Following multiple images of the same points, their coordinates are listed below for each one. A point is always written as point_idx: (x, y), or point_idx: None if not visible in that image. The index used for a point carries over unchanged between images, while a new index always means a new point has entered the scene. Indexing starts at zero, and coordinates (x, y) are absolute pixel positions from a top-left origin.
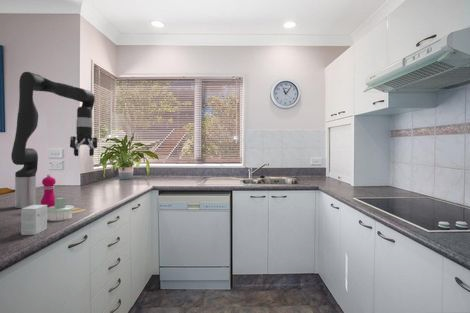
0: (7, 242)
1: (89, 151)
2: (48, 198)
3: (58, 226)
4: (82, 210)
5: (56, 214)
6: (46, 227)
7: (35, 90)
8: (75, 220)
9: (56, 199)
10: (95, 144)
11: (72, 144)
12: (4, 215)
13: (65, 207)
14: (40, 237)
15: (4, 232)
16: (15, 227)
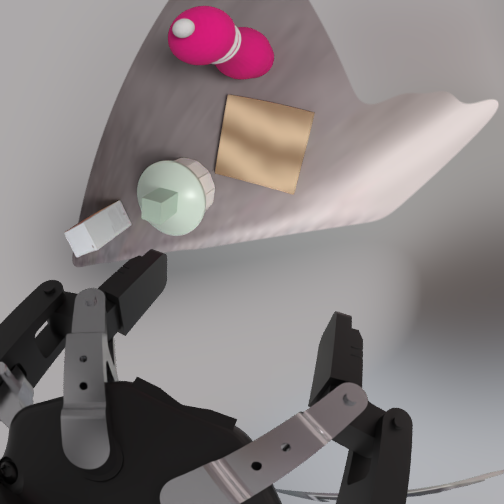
0: None
1: (333, 348)
2: (218, 66)
3: (151, 231)
4: (280, 183)
5: None
6: (128, 226)
7: None
8: (199, 230)
9: (143, 206)
10: (345, 478)
11: (39, 335)
12: (162, 10)
13: (177, 212)
14: (108, 251)
15: (91, 170)
16: (110, 154)
